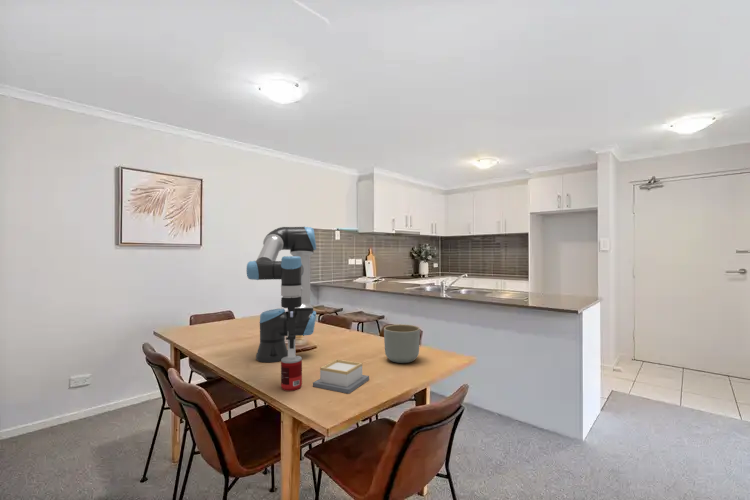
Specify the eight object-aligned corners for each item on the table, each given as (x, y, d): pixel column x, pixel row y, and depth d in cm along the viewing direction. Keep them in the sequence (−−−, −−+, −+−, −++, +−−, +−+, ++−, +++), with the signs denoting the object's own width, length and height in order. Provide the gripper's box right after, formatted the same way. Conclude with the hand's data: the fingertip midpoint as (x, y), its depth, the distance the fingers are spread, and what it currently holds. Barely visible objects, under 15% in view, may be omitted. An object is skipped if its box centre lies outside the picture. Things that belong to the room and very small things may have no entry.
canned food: (304, 383, 143) (304, 355, 143) (298, 391, 135) (298, 361, 135) (285, 383, 144) (285, 355, 144) (278, 390, 136) (278, 361, 136)
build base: (312, 386, 140) (312, 368, 140) (335, 373, 154) (335, 357, 154) (348, 393, 133) (348, 374, 133) (369, 379, 147) (369, 362, 147)
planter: (376, 359, 174) (376, 327, 174) (403, 353, 185) (403, 323, 185) (400, 368, 161) (400, 333, 161) (427, 361, 171) (427, 328, 171)
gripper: (302, 299, 128) (302, 360, 128) (300, 292, 152) (300, 343, 152) (280, 300, 126) (280, 362, 126) (281, 293, 150) (281, 345, 150)
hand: (291, 352), depth 139 cm, fingers open, 13 cm apart
